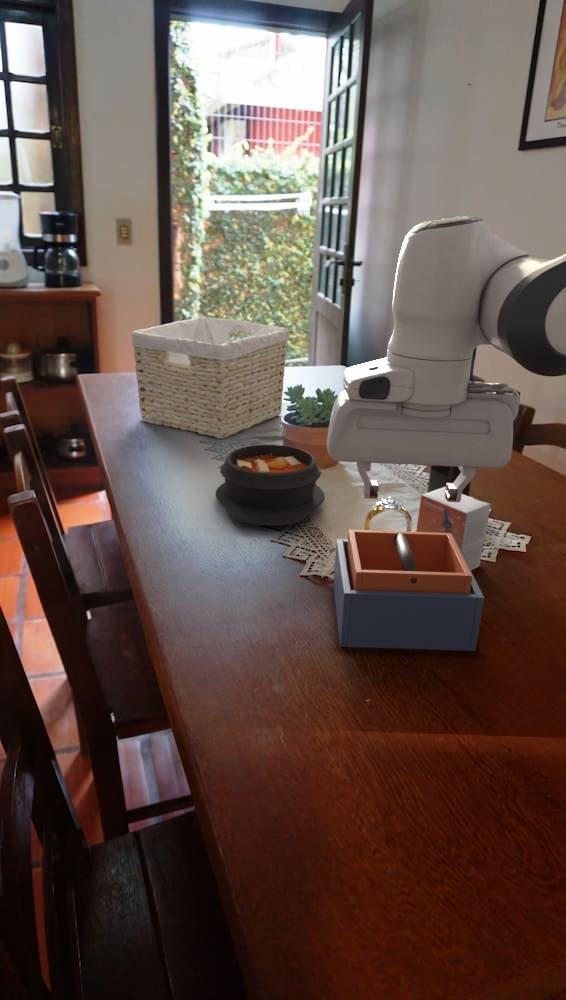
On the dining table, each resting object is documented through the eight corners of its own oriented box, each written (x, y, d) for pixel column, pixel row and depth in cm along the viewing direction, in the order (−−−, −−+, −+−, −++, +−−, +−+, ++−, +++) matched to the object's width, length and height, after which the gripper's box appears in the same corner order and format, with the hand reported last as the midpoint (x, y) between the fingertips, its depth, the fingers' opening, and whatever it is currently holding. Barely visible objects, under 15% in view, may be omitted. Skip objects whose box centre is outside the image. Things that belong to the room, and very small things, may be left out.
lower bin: (449, 594, 91) (457, 542, 88) (474, 656, 79) (484, 597, 76) (332, 590, 91) (336, 538, 88) (339, 651, 79) (344, 593, 76)
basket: (224, 445, 145) (224, 341, 136) (130, 422, 158) (124, 326, 149) (290, 416, 166) (293, 325, 158) (202, 398, 179) (201, 313, 170)
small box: (411, 560, 100) (419, 494, 96) (435, 549, 103) (444, 485, 99) (456, 582, 94) (466, 513, 90) (480, 570, 98) (491, 503, 94)
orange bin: (442, 593, 90) (451, 532, 86) (461, 643, 80) (472, 576, 76) (343, 590, 90) (348, 529, 86) (350, 640, 79) (356, 572, 76)
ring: (410, 547, 104) (416, 498, 101) (407, 556, 101) (413, 506, 98) (365, 539, 106) (369, 492, 103) (361, 548, 103) (365, 499, 100)
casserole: (325, 539, 105) (328, 488, 102) (205, 533, 106) (204, 483, 102) (323, 479, 128) (325, 437, 125) (224, 475, 129) (224, 433, 125)
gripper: (514, 377, 76) (493, 491, 81) (330, 369, 76) (322, 484, 81) (532, 391, 70) (509, 513, 76) (334, 382, 70) (325, 505, 75)
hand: (411, 498), depth 78 cm, fingers open, 8 cm apart
